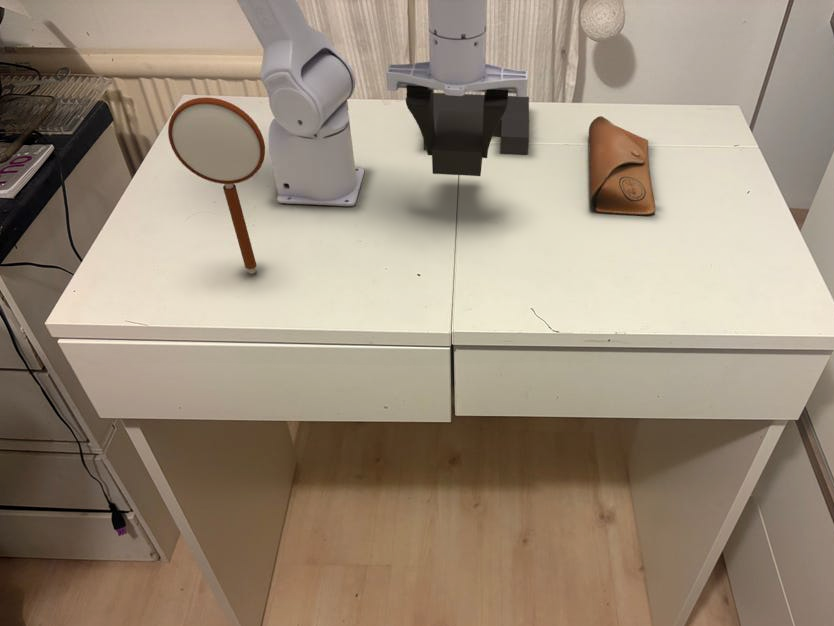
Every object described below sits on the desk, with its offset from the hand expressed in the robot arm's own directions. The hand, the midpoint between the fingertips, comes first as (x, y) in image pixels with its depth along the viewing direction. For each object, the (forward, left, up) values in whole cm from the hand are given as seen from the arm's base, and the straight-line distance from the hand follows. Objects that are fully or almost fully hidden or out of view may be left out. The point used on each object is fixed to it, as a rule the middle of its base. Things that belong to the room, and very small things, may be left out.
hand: (457, 152), depth 80 cm
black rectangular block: (0, +2, -2) cm, 3 cm away
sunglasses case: (+20, +10, -9) cm, 24 cm away
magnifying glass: (-21, -13, -9) cm, 26 cm away
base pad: (+2, +20, -8) cm, 22 cm away
